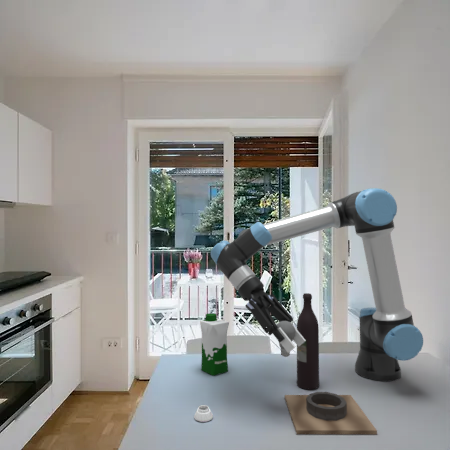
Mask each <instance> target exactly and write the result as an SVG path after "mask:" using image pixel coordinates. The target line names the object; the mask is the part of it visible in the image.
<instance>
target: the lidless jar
mask: <svg viewBox="0 0 450 450" xmlns="http://www.w3.org/2000/svg"><path fill="white" fill-rule="evenodd" d="M193 417H194V420H195V421H197V422H200V423H207V422H209V421H211V420H213V418H214V414H213V412H212V411H211V409H210V407H209V406H208V405H207V404H203V405H199V406H198V407H197V410H196V411H195V413H194V415H193Z"/></svg>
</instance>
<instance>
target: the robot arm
mask: <svg viewBox="0 0 450 450" xmlns="http://www.w3.org/2000/svg"><path fill="white" fill-rule="evenodd" d="M397 212H398V204H397V202H396V200H395V198H394V196H393V195H392V194H391V193H390V192H389V191H387V190H386V189H382V188H377V187H372V188H371V187H370V188H366V189H362V190H361V191H360V190H359V191H356V192H353V193H351V194H348V195H346V196H344V197H342V198H340V199H337V200H334V201H331V202H329V203H328V204H327V205H326V206H323V207H319V208H317V209H313V210H310V211H309V210H308V211H306V212H301V213H299V214H298V213H297V214H295V215H292V216H287V217H284V218H281V219H277V220H274V221H270V222H267V223H262V222H260V221H257V222H255V223H254V224H251V226H250V227H249V228H244V229H242V230H241V231H240V232H239V233H238V236H237V238H235V239H234V240H233V241H231V242H230V241H228V240H221V241H220V242H217V243H216V244H215V245H214V246H213V248H212V249H211V250H210V257H211V259H212V260H213V261H214V263H215V265H216V266H217V268H218V269H219V270H220V271H221V272H222V274H223V275H224V276H225V277H226V279H227V280H228V281H229V282H230V283H231V284H232V287H233V288H234V289H235V290H236V291H237V293H238V294H239V296H240V297H241V298H242V300H244V302H245V301H246V302H247V303H246V304H245V308H246V309H247V310H249V312H250V313H251V314H252V316H253V317H254V318H255V320H256V321H257V324H259V326H260V327H261V328H262V330H263V331H264V333H266V334H268V336H272V335H273V336H274V337H275V339H276V340H277V341H279V342H280V343H281V345H282V346H283V347H284V349H285V350H286V351H287V352H288V353H289V352H290V353H291V352H292V351H293V349H295V348H297V345H298V347H299V346H300V345H301V344H303V343H304V342H305V341H306V340H305V339H304V338H303V336H302V335H301V334H300V333H299V332H298V330H297V327H295V325H294V324H293V326H294V327H295V330H296V334H295V337H294V339H293V341H291V340H290V339H289V338H288V336H287V335H286V334H285V333H284V331H283V330H282V329H281V328H278V327H277V323H276V322H275V320H274V318H275V319H276V320H277V321H278V323H279V322H281V321H288V322H290V323H293V321H294V319H293V316H292V315H291V314H290V313H289V311H287V310H286V308H285V307H284V306H283V305H282V304H281V303H280V302H279V300H278V299H277V298H276V296H275V295H274V293H271V294H268V293H267V292H266V291H265V290H264V287H265V285H264V283H263V282H262V281H261V279H259V277H258V276H256V273H254V271H253V270H252V268H250V267H249V265H248V264H247V263H246V262H247V261H248V260H249V259H251V258H252V257H253V256H254V255H255V254H257V253H258V252H259V251H260V250H262V249H263V248H264V247H266V246H270V245H273V244H276V243H279V242H283V241H287V240H291V239H295V238H298V237H302V236H305V235H308V234H312V233H313V234H314V233H316V232H319V231H320V232H321V231H324V230H326V229H329V228H334V229H340V228H345V227H353V226H354V230H355V234H356V235H357V236H358V237H360V238H361V241H362V245H363V249H364V255H365V260H366V265H367V270H368V275H369V281H370V285H371V290H372V294H373V299H374V306H375V307H363V308H361V309H360V311H359V317H358V319H359V352H358V355H357V357H356V359H355V360H356V361H355V363H354V371H355V373H356V374H357V375H359V376H360V377H363V378H365V379H369V380H374V381H379V382H391V381H397V380H399V379H401V377H402V370H401V366H400V363H399V361H403V362H404V361H409V360H412V359H414V358H416V357H417V356H418V354H419V353H420V352H421V351H422V348H423V346H424V337H423V336H424V335H423V333H422V332H421V331H420V330H419V328H418V327H417V326H415V324H414V319H413V314H412V312H411V311H410V310H409V309H407V308H406V306H405V301H404V296H403V291H402V287H401V281H400V275H399V271H398V266H397V262H396V261H397V260H396V255H395V249H394V246H393V240H392V236H391V234H392V233H393V231H394V229H395V223H394V220H395V217H396V216H397ZM273 317H274V318H273ZM277 328H278V329H277ZM279 342H278V343H279ZM294 343H295V344H296V345H295V344H294ZM290 353H289V354H290Z"/></svg>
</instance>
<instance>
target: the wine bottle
mask: <svg viewBox="0 0 450 450" xmlns="http://www.w3.org/2000/svg"><path fill="white" fill-rule="evenodd" d="M302 299H303V306H302V309H301V312H300V314H299V316H298V318H297V321H296V329H297V330H298V332H299V333H300V334H301V335H302V336H303V338H304V339H305V340H306V341H305V342H304V343H303V344H301V345H300V346H299V347H298V345H297V344H296V384H297V386H298V388H300V389H303V390H308V391H311V390H317V389H318V388H319V387H320V367H319V366H320V352H319V351H320V341H319V340H320V339H319V338H320V336H319V335H320V334H319V331H320V330H319V322H318V321H319V320H318V318H317V316H316V314H315V313H314V310H313V306H312V300H313V295H312V293H307V292H305V293H303V295H302Z"/></svg>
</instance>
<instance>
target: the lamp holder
mask: <svg viewBox="0 0 450 450" xmlns="http://www.w3.org/2000/svg"><path fill="white" fill-rule="evenodd" d="M284 401H285V404H286V407H287V409H288V413H289V416H290V418H291V422H292V424H293V427H294V431H295V434H296V435H378V430H377V428H376V427H375V426H374V424H373V422H371V420H370V419H369V417H368V416H367V415H366V414H365V412H364V410H362V408H361V407H360V405H359V404H358V403H357V401H356V400H355V399H354V397H353V396H352V395H351V394H337V393H333V392H329V391H316V392H311V393H309V394H284Z"/></svg>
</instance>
